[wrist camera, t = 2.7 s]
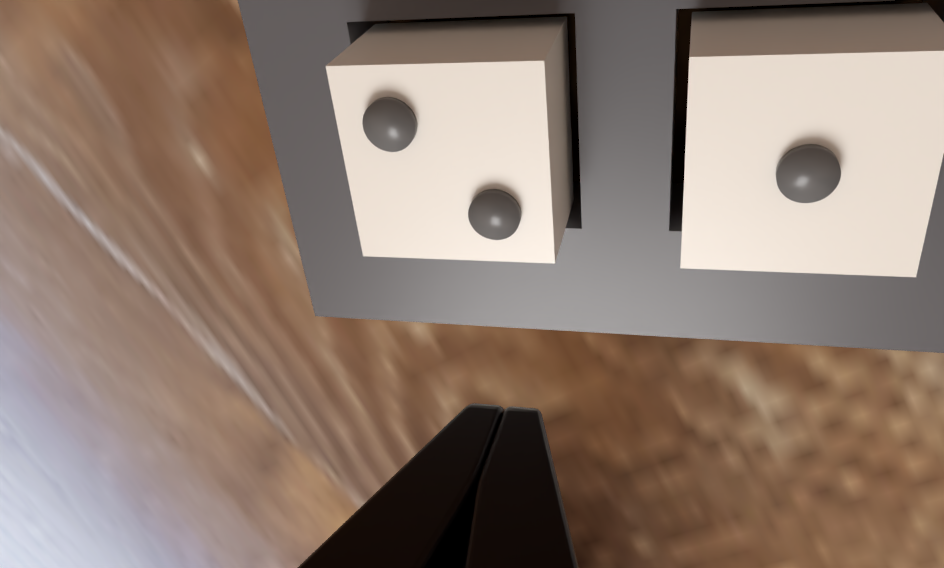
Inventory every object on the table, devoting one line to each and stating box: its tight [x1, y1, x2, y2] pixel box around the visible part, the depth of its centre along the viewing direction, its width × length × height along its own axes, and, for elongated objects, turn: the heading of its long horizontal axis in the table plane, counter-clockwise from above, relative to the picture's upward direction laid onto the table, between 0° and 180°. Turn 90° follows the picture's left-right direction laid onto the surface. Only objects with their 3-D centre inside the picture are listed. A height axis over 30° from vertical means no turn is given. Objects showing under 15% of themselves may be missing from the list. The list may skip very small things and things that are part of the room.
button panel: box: [238, 0, 944, 353], centre depth 18 cm, size 24×11×2 cm, turn 96°
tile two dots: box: [326, 17, 574, 264], centre depth 18 cm, size 4×4×3 cm
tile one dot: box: [680, 3, 944, 277], centre depth 16 cm, size 4×4×3 cm
